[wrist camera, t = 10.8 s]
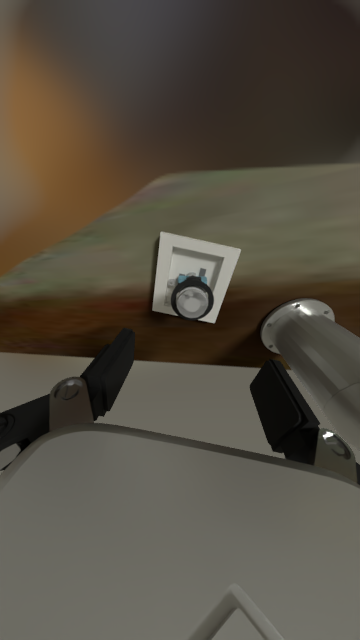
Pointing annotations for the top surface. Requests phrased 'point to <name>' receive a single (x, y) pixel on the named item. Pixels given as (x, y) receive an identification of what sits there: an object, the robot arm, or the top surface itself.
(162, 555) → the robot arm
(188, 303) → the push button
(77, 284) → the top surface
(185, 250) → the socket plate
